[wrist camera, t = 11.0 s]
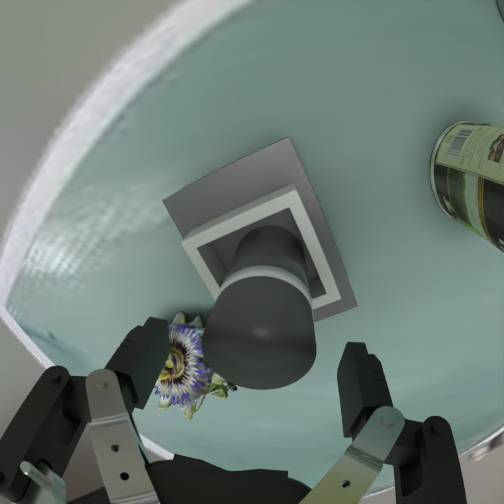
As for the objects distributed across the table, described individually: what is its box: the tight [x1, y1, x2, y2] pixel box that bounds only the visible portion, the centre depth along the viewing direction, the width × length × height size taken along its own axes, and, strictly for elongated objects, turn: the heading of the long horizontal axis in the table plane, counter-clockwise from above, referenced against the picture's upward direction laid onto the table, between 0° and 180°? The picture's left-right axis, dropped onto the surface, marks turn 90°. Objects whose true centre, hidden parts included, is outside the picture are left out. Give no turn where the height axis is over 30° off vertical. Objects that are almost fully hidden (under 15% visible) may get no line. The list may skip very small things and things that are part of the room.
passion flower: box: [154, 312, 237, 419], centre depth 28 cm, size 11×11×12 cm
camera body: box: [162, 137, 357, 322], centre depth 22 cm, size 10×14×8 cm
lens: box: [201, 225, 316, 390], centre depth 16 cm, size 5×5×10 cm
